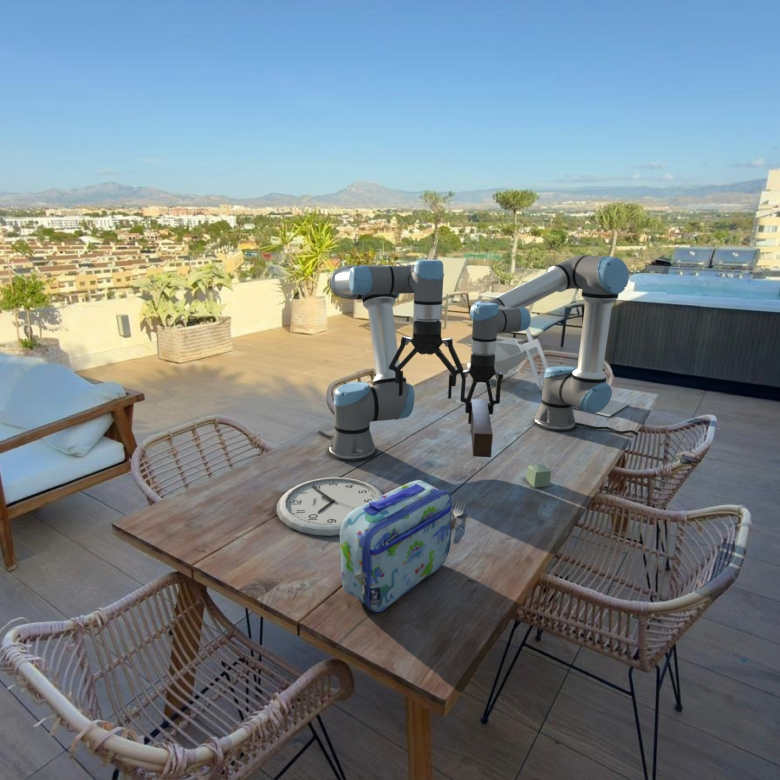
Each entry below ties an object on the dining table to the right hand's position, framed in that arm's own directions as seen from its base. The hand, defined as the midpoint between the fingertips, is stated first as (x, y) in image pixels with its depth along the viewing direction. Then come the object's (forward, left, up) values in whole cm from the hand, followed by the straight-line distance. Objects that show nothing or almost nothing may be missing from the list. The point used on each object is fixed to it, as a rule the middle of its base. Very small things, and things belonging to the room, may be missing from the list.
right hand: (478, 422), depth 170 cm
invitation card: (-56, -62, -13) cm, 84 cm away
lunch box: (+19, +67, -13) cm, 71 cm away
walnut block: (0, +11, 0) cm, 11 cm away
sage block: (-18, +15, -13) cm, 27 cm away
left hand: (+17, +23, +16) cm, 33 cm away
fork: (+7, +41, -13) cm, 44 cm away
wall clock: (+40, +37, -13) cm, 56 cm away
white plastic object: (-18, -89, -13) cm, 92 cm away
